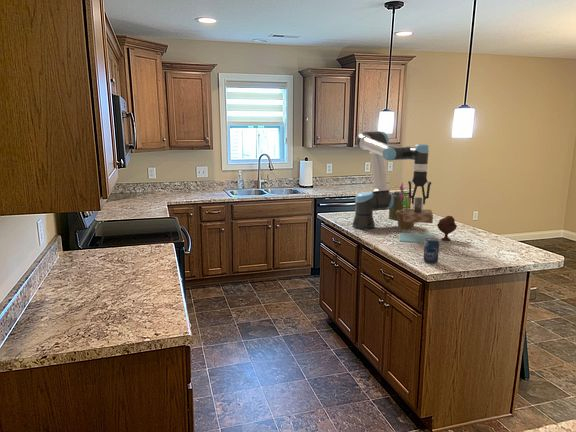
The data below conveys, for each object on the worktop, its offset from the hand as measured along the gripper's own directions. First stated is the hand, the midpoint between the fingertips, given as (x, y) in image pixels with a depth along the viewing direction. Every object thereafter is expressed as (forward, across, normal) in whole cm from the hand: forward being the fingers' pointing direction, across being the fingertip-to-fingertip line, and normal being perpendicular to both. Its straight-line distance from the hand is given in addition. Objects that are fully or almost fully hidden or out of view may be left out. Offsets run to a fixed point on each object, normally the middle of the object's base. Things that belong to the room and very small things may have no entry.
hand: (417, 209), depth 261 cm
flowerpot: (+19, -6, +30) cm, 36 cm away
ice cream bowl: (+18, +17, -1) cm, 25 cm away
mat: (+18, 0, -1) cm, 18 cm away
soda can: (+17, +5, -49) cm, 52 cm away
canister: (+19, -13, +56) cm, 61 cm away
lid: (+6, 0, 0) cm, 6 cm away
